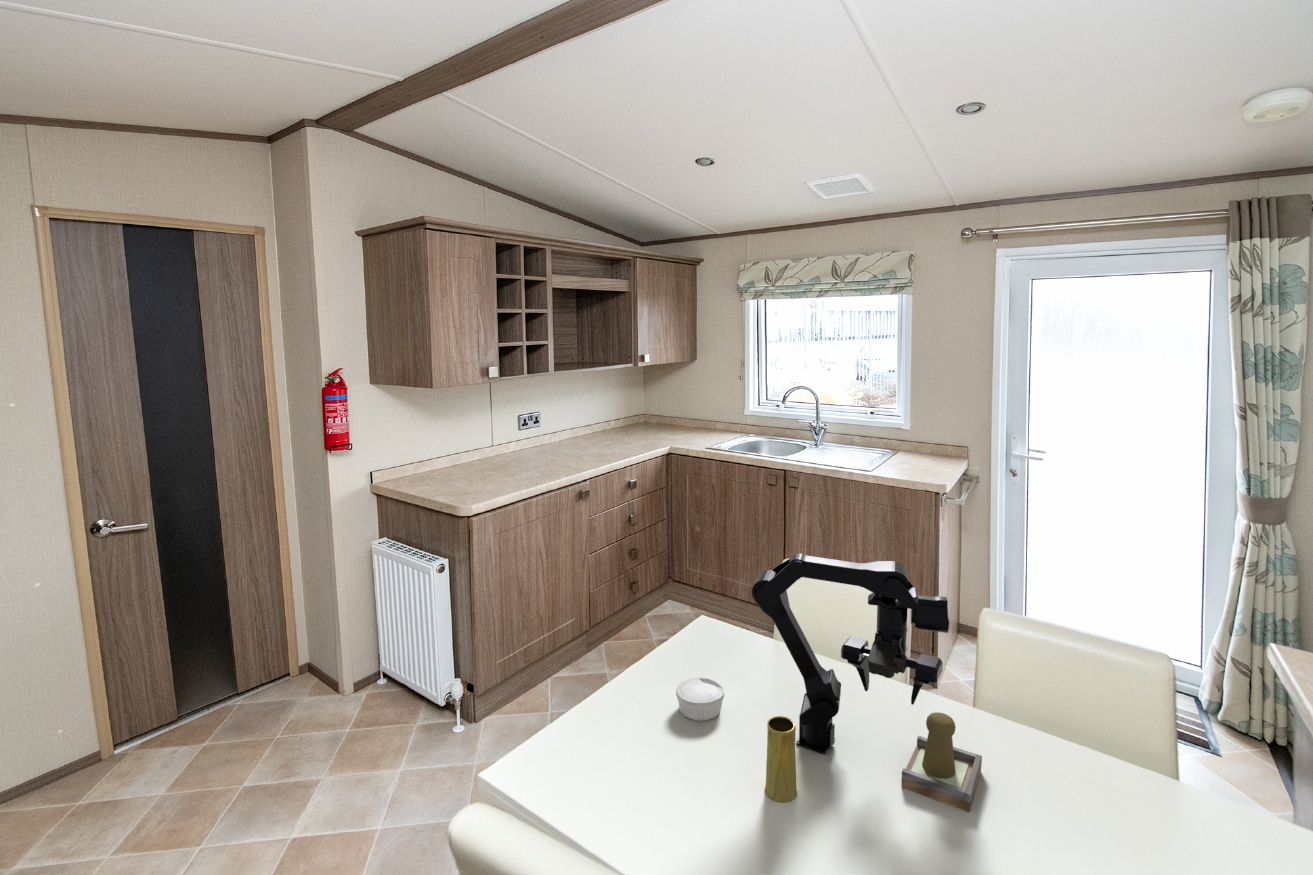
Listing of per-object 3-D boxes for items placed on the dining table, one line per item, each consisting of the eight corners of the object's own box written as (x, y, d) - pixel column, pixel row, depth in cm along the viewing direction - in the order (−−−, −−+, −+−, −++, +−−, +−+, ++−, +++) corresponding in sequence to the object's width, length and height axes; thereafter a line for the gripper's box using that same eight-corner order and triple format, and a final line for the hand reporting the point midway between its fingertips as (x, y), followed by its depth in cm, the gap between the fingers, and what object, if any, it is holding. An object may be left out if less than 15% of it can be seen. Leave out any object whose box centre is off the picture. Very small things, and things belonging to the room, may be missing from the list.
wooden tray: (901, 787, 125) (901, 770, 124) (917, 750, 135) (918, 735, 135) (969, 812, 118) (970, 795, 118) (981, 771, 129) (982, 755, 128)
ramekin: (732, 705, 154) (732, 684, 153) (710, 730, 145) (710, 708, 144) (691, 692, 160) (691, 672, 159) (667, 715, 150) (667, 694, 150)
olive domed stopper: (940, 755, 130) (942, 705, 129) (962, 774, 125) (965, 722, 123) (915, 761, 129) (917, 711, 127) (936, 781, 123) (939, 728, 121)
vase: (778, 807, 121) (778, 737, 118) (758, 787, 126) (758, 720, 124) (803, 795, 123) (804, 727, 121) (783, 776, 129) (783, 710, 126)
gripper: (832, 630, 129) (831, 702, 131) (932, 654, 118) (928, 732, 121) (850, 609, 138) (849, 677, 140) (944, 630, 127) (941, 703, 130)
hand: (889, 696), depth 132 cm, fingers open, 9 cm apart
